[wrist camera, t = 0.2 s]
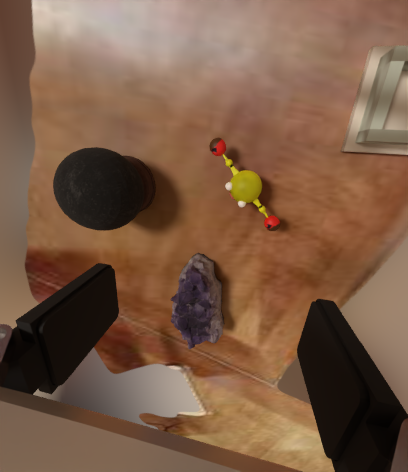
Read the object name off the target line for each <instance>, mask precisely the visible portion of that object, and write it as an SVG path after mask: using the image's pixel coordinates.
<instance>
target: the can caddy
mask: <svg viewBox="0 0 408 472" xmlns="http://www.w3.org/2000/svg"><path fill="white" fill-rule="evenodd" d="M341 151H343V152H361V153H379V154H397V155H408V46H373V47H372V48H371V49H370V50H369V53H368V57H367V60H366V64H365V67H364V71H363V74H362V78H361V82H360V85H359V89H358V92H357V96H356V99H355V103H354V106H353V110H352V114H351V117H350V121H349V124H348V128H347V131H346V135H345V138H344V142H343V146H342V149H341Z"/></svg>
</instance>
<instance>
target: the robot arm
mask: <svg viewBox="0 0 408 472" xmlns="http://www.w3.org/2000/svg"><path fill="white" fill-rule="evenodd" d="M118 314H119V308H118V299H117V289H116V279H115V271H114V269H113V268H112V266H111V265H107V264H101V263H98V264H96V265H95V266H93V267H92V268H90V269H89V270H88V271H86V272H85V273H83V274H82V275H80V276H79V277H77V278H76V279H75V280H73V281H72V282H70V283H69V284H67V285H66V286H64V287H63V288H62V289H60V290H59V291H57V292H56V293H54V294H53V295H52V296H50V297H49V298H47V299H46V300H44V301H43V302H41V303H40V304H39V305H37V306H36V307H34V308H33V309H31V310H30V311H29V312H27V313H26V314H24V315H23V316H21V317H20V318H18V319H17V320H16V323H17V327H15V328H14V329H12V328H11V326H9V325H6V324H0V472H302V471H299V470H295V469H292V468H289V467H286V466H282V465H279V464H276V463H272V462H269V461H265V460H262V459H258V458H255V457H251V456H248V455H244V454H241V453H238V452H234V451H231V450H227V449H224V448H220V447H217V446H213V445H210V444H206V443H203V442H200V441H196V440H193V439H189V438H186V437H182V436H179V435H175V434H171V433H168V432H164V431H161V430H157V429H154V428H150V427H147V426H143V425H140V424H136V423H132V422H129V421H126V420H122V419H118V418H115V417H111V416H108V415H104V414H101V413H97V412H93V411H89V410H86V409H83V408H79V407H75V406H71V405H68V404H64V403H61V402H57V401H53V400H50V399H46V398H43V397H39V396H35V395H33V393H34V392H35V391H36V390H37V389H38V388H39V390H40V391H42V392H45V393H49V394H52V393H53V392H54V391H55V390H56V388H57V387H58V386H60V385H62V384H63V383H64V382H65V381H66V380H67V379H68V377H69V376H70V375H71V374H72V373H73V372H74V370H75V369H76V368H77V367H78V365H79V364H80V363H81V362H82V360H83V359H84V358H85V357H86V356H87V354H88V353H89V352H90V351H91V349H92V348H93V347H94V346H95V345H96V343H97V342H98V341H99V340H100V338H101V337H102V336H103V335H104V333H105V332H106V331H107V330H108V329H109V327H110V326H111V325H112V324H113V322H114V321H115V320H116V319H117V317H118ZM297 354H298V358H299V362H300V366H301V369H302V373H303V376H304V380H305V384H306V387H307V391H308V394H309V398H310V402H311V405H312V409H313V412H314V416H315V420H316V423H317V427H318V430H319V434H320V438H321V441H322V445H323V448H324V452H325V454H326V456H327V457H328V458H330V459H331V460H332V463H333V467H334V470H335V472H408V414H407V413H406V411H405V410H404V408H403V407H402V405H401V404H400V402H399V400H398V399H397V398H396V396H395V394H394V393H393V391H392V390H391V388H390V387H389V385H388V383H387V382H386V380H385V379H384V377H383V376H382V374H381V373H380V371H379V370H378V368H377V367H376V365H375V363H374V362H373V360H372V359H371V358H370V356H369V354H368V353H367V351H366V350H365V348H364V346H363V345H362V343H361V342H360V341H359V339H358V338H357V336H356V335H355V333H354V332H353V330H352V329H351V327H350V325H349V324H348V322H347V321H346V319H345V318H344V316H343V315H342V313H341V312H340V310H339V308H338V307H337V305H336V304H335V303H334V302H333V301H329V300H323V299H317V300H316V302H314V301H313V302H312V303H311V306H310V309H309V312H308V316H307V319H306V322H305V325H304V328H303V331H302V335H301V338H300V341H299V344H298V348H297Z"/></svg>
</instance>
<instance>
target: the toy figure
mask: <svg viewBox="0 0 408 472" xmlns="http://www.w3.org/2000/svg"><path fill="white" fill-rule="evenodd" d="M210 151H212V153H213V154H214V155H216V156H221V155H223V157H224V158H225V160H226V165H227V166H228V167H230V169H231V171H232V173H233V175H234V176H233V178H232V179H231V181H230V182H228V183H227V184H226V186H225V187H226V189H227V190H230V196H231V197H232V199H234V200H236V201H238V206H239V207H244V206H245V205H246V203H250V202H253V203H254V204H255V205H257V207H258V208H259V212H261V213H264V214H265V216H266V217H267V218H266V219H265V222H264V225H265V227H266V228H267V230H269V231H275V230H277V229H278V228H279V227H280V221H279V219H278V218H277V217H275V216H267V214H266V212H265V210H266V208H265V207H264V206H262V205H261V204H260V202H259V200H258V196H259V195H260V193H261V190H262V182H261V179H260V177H259V176H258V175H257V174H256V173H255V172H253V171H249V170H244V171H240V172H239V171H238V170H237V169H236V168H235V167H234V166H233V165H232V164H233V161H232V160H231V159H227V157H226V156H225V155H224V153H225V151H226V144H225V142H224V141H223V140H222V139H221V138H215V139H213V140H212V141H211V143H210Z"/></svg>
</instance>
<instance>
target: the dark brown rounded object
mask: <svg viewBox="0 0 408 472" xmlns="http://www.w3.org/2000/svg"><path fill="white" fill-rule="evenodd" d="M53 188H54V194H55V197H56V200H57V202H58V204H59V206H60V207H61V209H62V210H63V212H64V213H65V214H66V215H67V216H68V217H69V218H70V219H72V220H73V221H75V222H76V223H78V224H79V225H81V226H84V227H86V228H90V229H94V230H113V229H117V228H120V227H122V226H124V225H126V224H128V223H129V222H130V221H131V220H133V219H134V218H135V217H136V215H137V214H138V213H139V212H140V211H142V210H144V209H146V208H147V207H148V206H149V205H150V204H151V202H152V201H153V198H154V195H155V181H154V178H153V175H152V173H151V171H150V170H149V168H148V167H147V166H146V165H145V164H144V163H143V162H142V161H140V160H139V159H137V158H134V157H131V156H121V155H120V154H118V153H116V152H114V151H111V150H108V149H104V148H97V147H96V148H84V149H81V150H78V151H76V152H73V153H71V154H70V155H68V156H67V157H66V158H65V159H64V160H63V161H62V162H61V163H60V165H59V166H58V168H57V170H56V173H55V176H54V181H53Z"/></svg>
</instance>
